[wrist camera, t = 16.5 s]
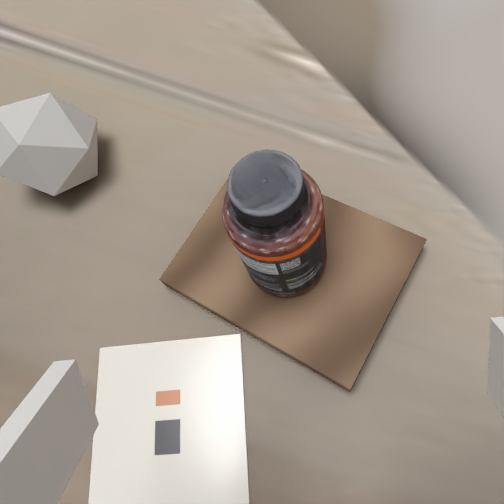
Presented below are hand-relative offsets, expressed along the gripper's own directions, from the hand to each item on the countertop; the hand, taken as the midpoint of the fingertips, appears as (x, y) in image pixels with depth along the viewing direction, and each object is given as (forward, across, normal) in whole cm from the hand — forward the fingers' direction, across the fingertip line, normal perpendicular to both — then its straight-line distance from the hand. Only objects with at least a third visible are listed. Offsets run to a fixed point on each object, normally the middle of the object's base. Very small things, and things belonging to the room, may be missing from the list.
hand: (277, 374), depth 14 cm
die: (+29, -19, +4) cm, 35 cm away
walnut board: (+20, 0, -5) cm, 20 cm away
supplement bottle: (+19, 0, -4) cm, 19 cm away
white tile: (+12, -10, -12) cm, 20 cm away
